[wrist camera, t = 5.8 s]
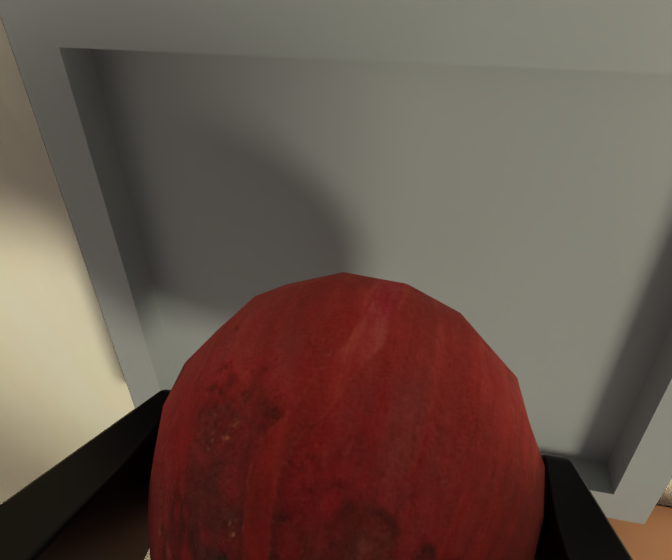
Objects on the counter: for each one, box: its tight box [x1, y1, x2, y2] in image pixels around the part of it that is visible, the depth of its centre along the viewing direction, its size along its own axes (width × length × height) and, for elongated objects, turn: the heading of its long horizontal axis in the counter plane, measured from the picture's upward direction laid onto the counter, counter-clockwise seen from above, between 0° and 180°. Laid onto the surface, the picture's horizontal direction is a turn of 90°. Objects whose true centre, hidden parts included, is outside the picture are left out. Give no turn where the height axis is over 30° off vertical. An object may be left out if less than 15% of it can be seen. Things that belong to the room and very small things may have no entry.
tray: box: [0, 0, 672, 524], centre depth 12 cm, size 14×12×2 cm
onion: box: [147, 272, 545, 560], centre depth 8 cm, size 6×6×8 cm
